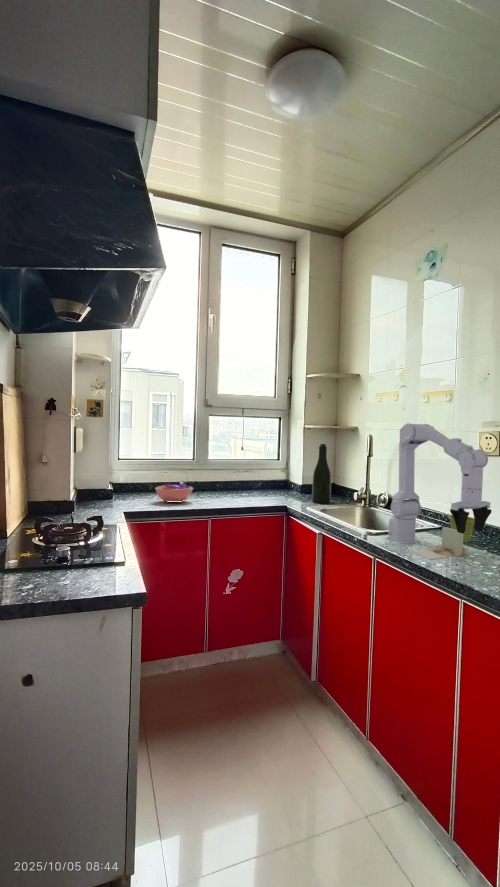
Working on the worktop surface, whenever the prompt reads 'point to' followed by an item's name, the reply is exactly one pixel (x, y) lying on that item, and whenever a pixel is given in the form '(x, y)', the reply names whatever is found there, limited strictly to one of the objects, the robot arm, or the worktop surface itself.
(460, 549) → the block
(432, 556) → the mat
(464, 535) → the plant pot
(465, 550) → the rack
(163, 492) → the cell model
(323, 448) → the beer bottle
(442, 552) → the offcut upper
